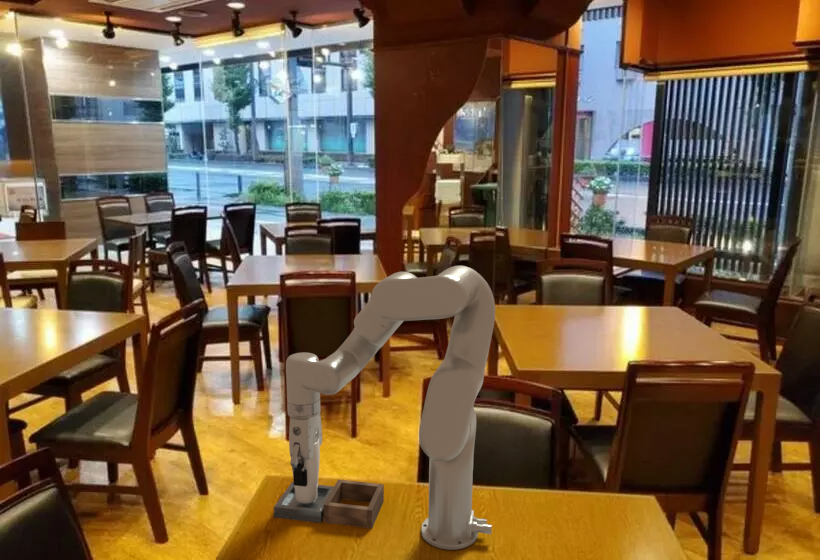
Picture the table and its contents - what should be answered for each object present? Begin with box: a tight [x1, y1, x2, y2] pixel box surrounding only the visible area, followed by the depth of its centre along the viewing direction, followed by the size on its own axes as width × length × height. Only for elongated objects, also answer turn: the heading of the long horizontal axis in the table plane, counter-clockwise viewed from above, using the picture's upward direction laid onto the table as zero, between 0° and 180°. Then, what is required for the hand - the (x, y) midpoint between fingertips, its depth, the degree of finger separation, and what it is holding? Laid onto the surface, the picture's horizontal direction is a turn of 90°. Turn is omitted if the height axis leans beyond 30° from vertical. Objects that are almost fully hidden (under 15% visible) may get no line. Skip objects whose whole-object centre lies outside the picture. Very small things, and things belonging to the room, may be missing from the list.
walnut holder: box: [323, 479, 385, 529], centre depth 145 cm, size 11×11×4 cm
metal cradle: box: [273, 481, 335, 524], centre depth 147 cm, size 11×12×2 cm
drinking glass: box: [291, 439, 321, 504], centre depth 145 cm, size 7×7×15 cm
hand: (305, 477), depth 146 cm, fingers closed on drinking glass, 6 cm apart
